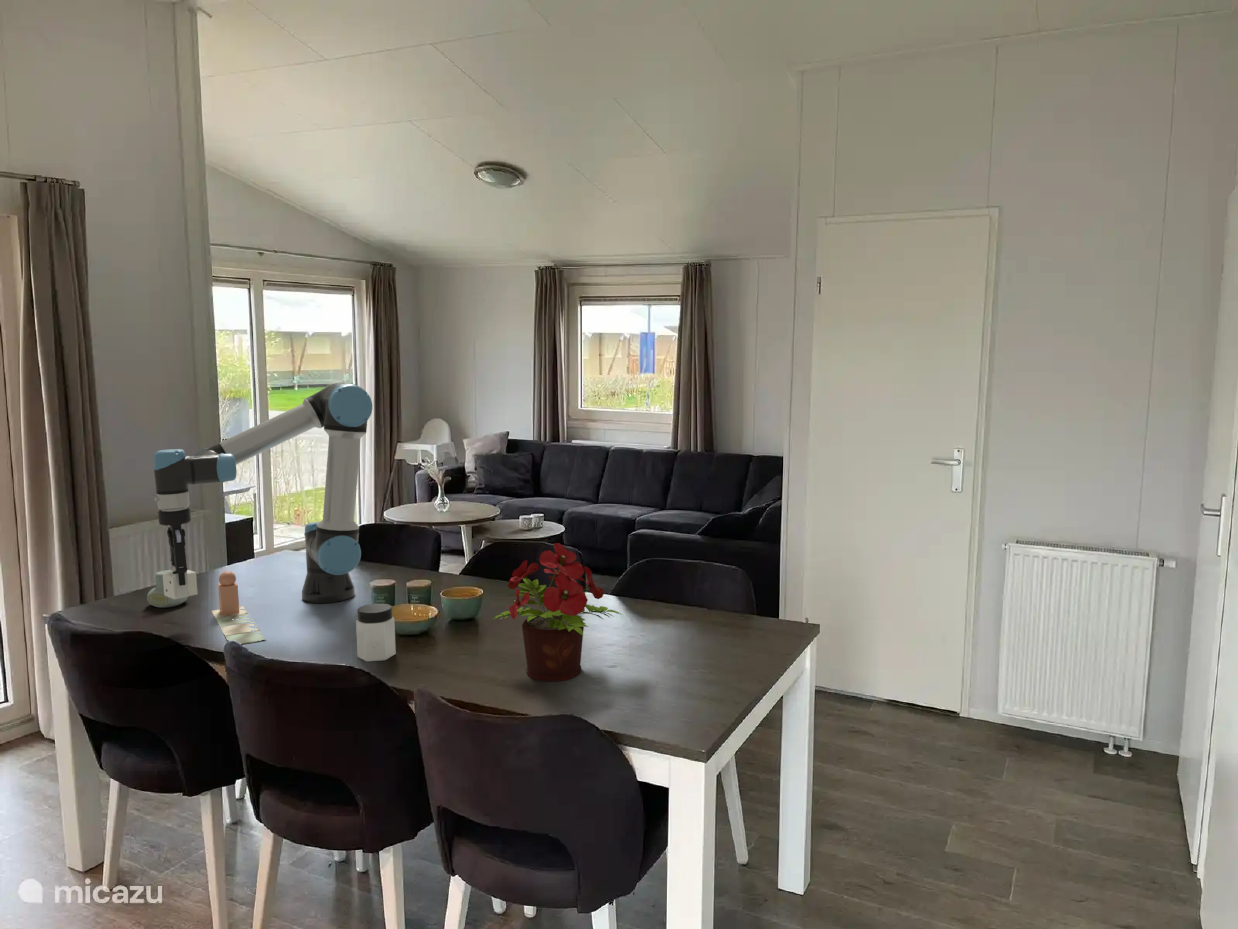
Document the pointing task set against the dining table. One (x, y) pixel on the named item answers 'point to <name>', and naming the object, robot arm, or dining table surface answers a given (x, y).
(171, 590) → the die
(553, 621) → the potted plant
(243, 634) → the track
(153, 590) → the air freshener
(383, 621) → the jar
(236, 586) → the orange-brown peg figure
